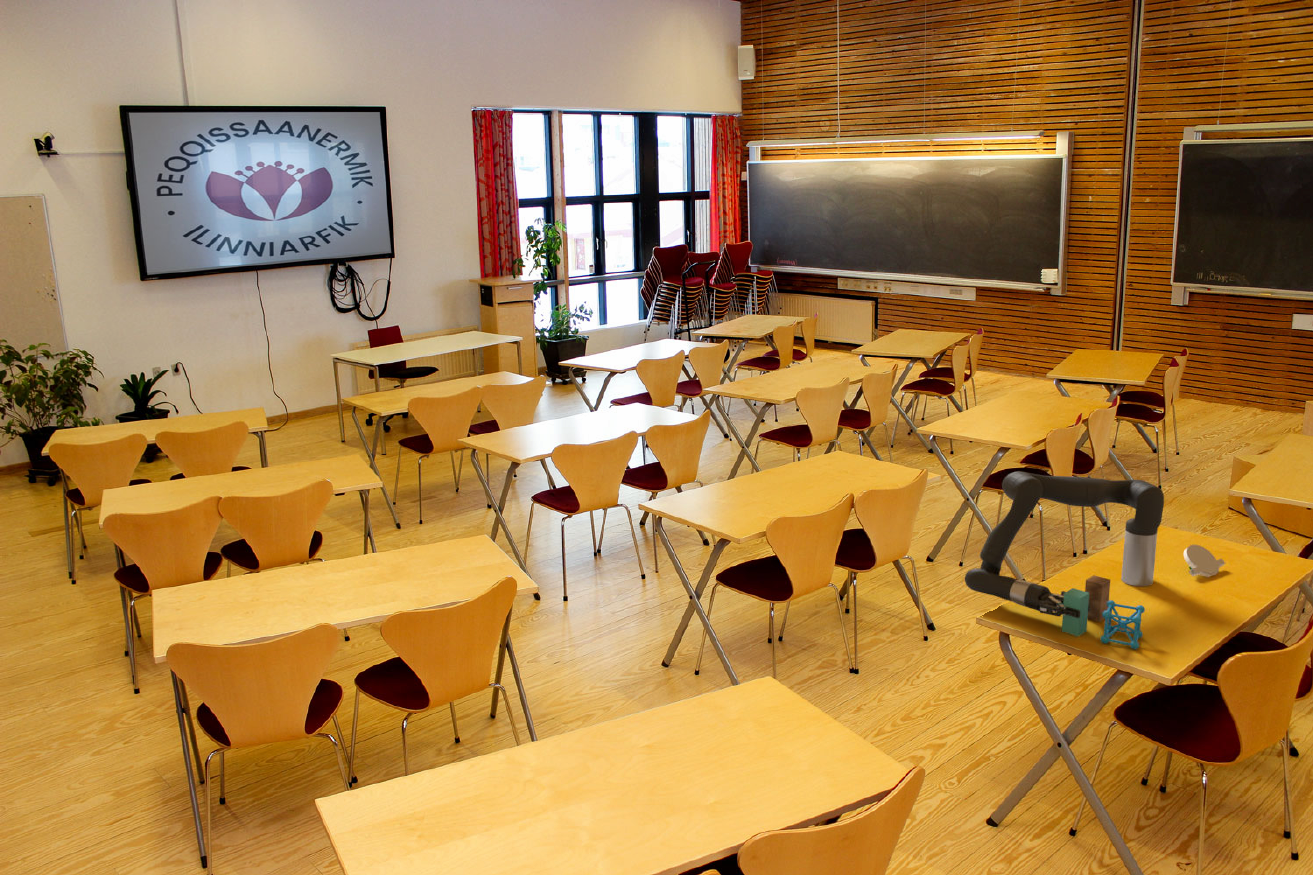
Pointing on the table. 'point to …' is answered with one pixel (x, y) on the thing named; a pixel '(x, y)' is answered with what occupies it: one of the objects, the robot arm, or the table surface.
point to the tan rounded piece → (1202, 561)
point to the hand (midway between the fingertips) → (1084, 611)
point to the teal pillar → (1078, 602)
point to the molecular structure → (1122, 624)
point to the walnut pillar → (1097, 596)
